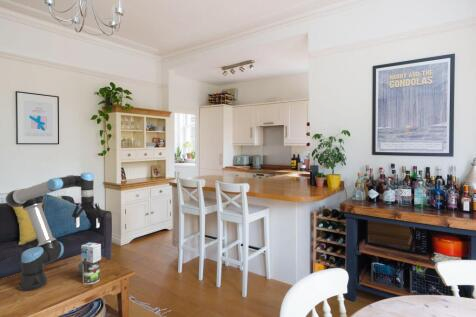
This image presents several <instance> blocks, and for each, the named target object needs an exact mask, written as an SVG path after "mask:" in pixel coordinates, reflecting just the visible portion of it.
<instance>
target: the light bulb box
mask: <svg viewBox="0 0 476 317" xmlns="http://www.w3.org/2000/svg"><path fill="white" fill-rule="evenodd" d="M80 250H81V255H80V256H81V260H80V261H81V262H82V261H85V262H90V263H95V262H97V261H99V262H100V261H101V260H102V244H101V243H96V242H87V243H84V244H82V245H81V247H80Z"/></svg>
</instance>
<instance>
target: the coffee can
mask: <svg viewBox="0 0 476 317" xmlns="http://www.w3.org/2000/svg"><path fill="white" fill-rule="evenodd" d="M81 263H83V276H82V283H83V284H84V285H93V284H97V283H98V282H99V281H100V279H101V277H100V260H99V261H97V262H95V263H90V262H85V261H82V260H81Z"/></svg>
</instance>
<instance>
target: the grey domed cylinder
mask: <svg viewBox="0 0 476 317" xmlns="http://www.w3.org/2000/svg"><path fill="white" fill-rule="evenodd" d="M77 268H78V270H77V271H78V277H83V263H82V262H80V263H78V267H77Z"/></svg>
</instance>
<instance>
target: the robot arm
mask: <svg viewBox="0 0 476 317" xmlns="http://www.w3.org/2000/svg"><path fill="white" fill-rule="evenodd" d="M94 180H95V179H94V173H92V172H81V173H80V175H73V174H70V175H66V176H62V177H61V176H59V177H53V178H50V179H48V180H47V181H43V182H41V183H38V184H35V185H32V186H29V187H27V188H20V189H19V188H18V189H15V190H11V191H9V193H8V192H7V195H6V197H5V202H6V203H7V205H8V206H10V207H12V208H19V207H22V209H23V210H24V211H26V212H27V215H28V218H29V220H30V223H31V226H32V228H33V231H34V233H35V237H36V239H37V242H38V244H37V245H36V246H35V247H31V248H28V249H26V250H24V251H23V252H22V253H21V255H20V256H21V257H20V264H21V276H20V277H21V278H20V281H19V284H18V290H19V291H24V292H27V291H28V292H29V291H33V290H36V289H37V290H38V289H41V288H42V287H43V286H45V285H47V283H48V277H47V276H46V273H45V268H44V266H45V265H47V264H50V263H51V262H54V261H56V260H57V259H60V258H62V256H63V254H64V251H65V250H64V249H65V247H64V244H63V243H62V242H61V241H59V240H57V238H55V237H54V236H53V234H52V231H51V229H50V226H49V223H48V221H47V217H46V215H45V213H44V208H43V207H42V206H43V204H44V203H43V201H44V200H45V195H47V194H50V193H53V192H56V191H60V190H65V189H69V188H73V187H74V188H80V196H81V197H80V202H78V203H76V205H75V208H74V209H73V210H74V211H73V212H72V215H71V218H74V223H75V228H79V227H80V216H81V214H82V212H83V211H91V212H92V213H93V214H94V216H95V217H96V219H95V220H96V223H95V224H96V226H95V228H96V229H98V228H100V223H101V219H102V218H103V217H104V213H103V211H102V209H101V208H100V205H99V202H96V203H95V200H94V199H95V197H94V194H95V192H94V191H95V190H94V188H95V187H94ZM80 207H81V208H80Z"/></svg>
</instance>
